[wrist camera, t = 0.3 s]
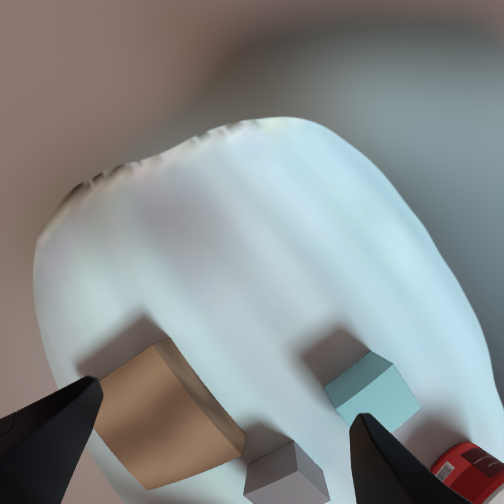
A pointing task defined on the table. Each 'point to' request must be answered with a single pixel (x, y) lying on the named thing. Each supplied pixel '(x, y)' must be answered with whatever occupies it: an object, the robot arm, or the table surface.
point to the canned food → (472, 473)
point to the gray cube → (286, 478)
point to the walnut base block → (164, 419)
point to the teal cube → (373, 392)
